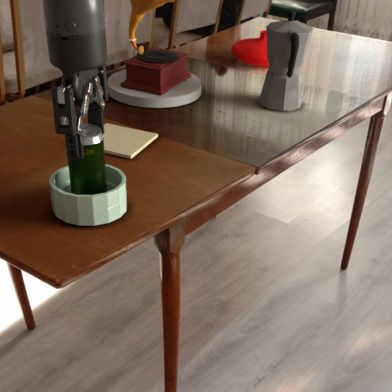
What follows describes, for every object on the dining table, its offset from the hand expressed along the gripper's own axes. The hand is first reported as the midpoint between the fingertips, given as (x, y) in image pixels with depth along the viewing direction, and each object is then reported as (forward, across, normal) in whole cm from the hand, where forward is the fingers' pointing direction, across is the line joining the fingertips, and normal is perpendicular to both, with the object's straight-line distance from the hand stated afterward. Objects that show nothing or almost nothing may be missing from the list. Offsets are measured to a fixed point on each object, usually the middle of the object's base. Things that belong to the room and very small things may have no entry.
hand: (86, 146), depth 90 cm
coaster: (+10, -25, -4) cm, 27 cm away
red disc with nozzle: (+11, -81, +15) cm, 83 cm away
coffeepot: (+11, -53, +23) cm, 59 cm away
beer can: (+10, 0, 0) cm, 10 cm away
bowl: (+10, 0, 0) cm, 10 cm away
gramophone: (+11, -53, -5) cm, 55 cm away
